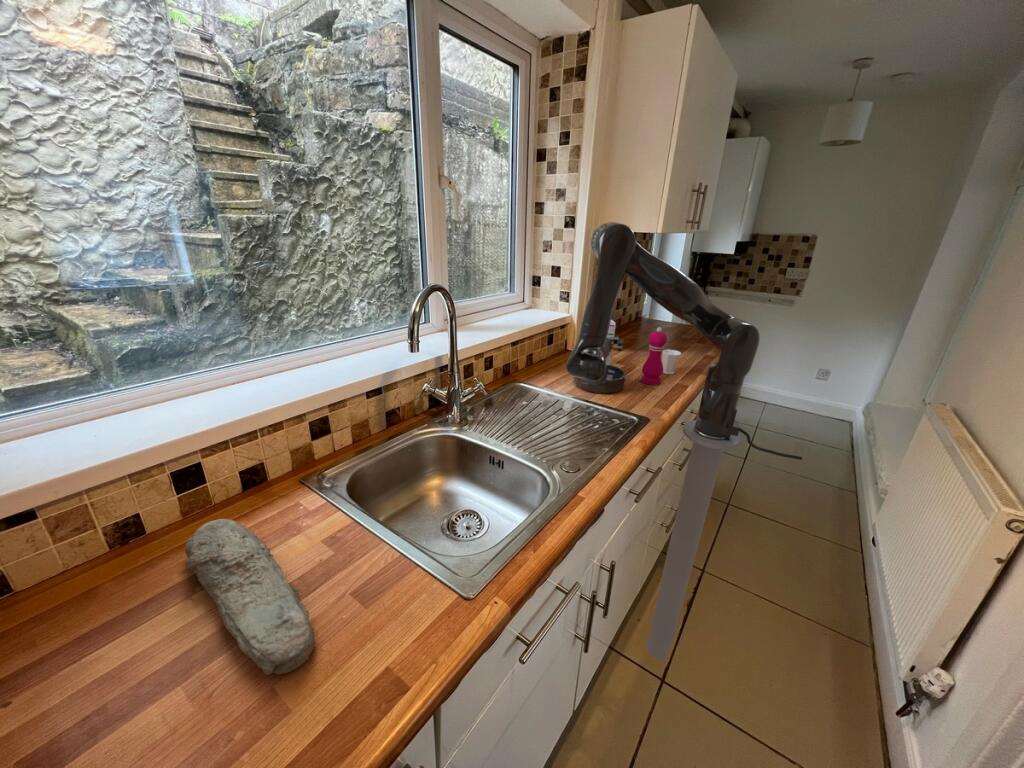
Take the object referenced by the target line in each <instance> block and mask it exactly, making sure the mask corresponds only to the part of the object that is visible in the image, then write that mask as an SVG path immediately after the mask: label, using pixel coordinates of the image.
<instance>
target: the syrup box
mask: <svg viewBox="0 0 1024 768" xmlns="http://www.w3.org/2000/svg"><path fill="white" fill-rule="evenodd" d="M616 326H617V323H615V322H614V321H613V320H611V321H610V325H609V330H608V334H607V338H609V337H612V338H614V337H615V334H616ZM613 351H614V348H613V349H611V350H610V352H609V355H608V356H607V358H606V365H612V359H613Z"/></svg>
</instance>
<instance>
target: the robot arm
mask: <svg viewBox="0 0 1024 768" xmlns="http://www.w3.org/2000/svg"><path fill="white" fill-rule="evenodd" d="M590 247H591V251H592V253H593V255H594V256H595V257H596V258H597V270H596V276H595V280H594V284H593V288H592V291H591V294H590V295H589V298H588V300H587V303H586V306H585V308H584V312H583V315H582V319H581V324H580V329H579V334H578V338H577V340H576V343H575V345H574V347H573V349H572V351H571V352H570V354H569V356H568V358H567V360H566V363H565V369H566V372H567V374H568V375H569V376H572V377H573V378H574V377H578V378H582V379H586V380H590V381H599V380H601V379H602V378H603V377H604V375H605V372H606V366H607V365H606V358H607V356H608V355H609V352H610V350H611V349H613V350H614V349H616V350H617V351H618V352H622V350H623V347H624V340H625V339H624V338H620V337H619V336H618V335H617V334H616V335H614V338H612V337H609V338H607V334H608V330H609V325H610V321H611V317H612V312H613V309H615V306H616V305H615V304H616V301H617V297H618V294H619V291H620V288H621V285H622V282H623V279H624V277H625V275H626V276H627V277H628V278H630V279H631V280H632V281H633V282H634V283H635V285H637V286H638V287H639V288H640V290H642V291H643V292H644V293H645V294H647V295H648V296H649V297H650V298H651V299H652V300H653V301H654V302H655V303H657V304H658V305H660V306H661V307H663V308H664V309H665V310H666V311H668V312H669V313H670V314H671V315H673V316H675V317H676V318H678V319H680V320H682V321H683V322H686V323H687V324H690V325H691V326H693V327H694V328H695V329H696V330H697V331H699V332H700V333H701V334H702V335H703V336H704V337H705V338H706V339H707V341H709V342H710V343H711V344H712V345H713V346H714V348H716V349H718V350H719V351H720V354H719V358H718V361H717V362H714V363H711V364H710V365H709V366H708V368H707V372H706V375H705V381H704V384H703V389H702V392H701V393H702V394H701V398H700V403H699V405H698V406H699V407H698V411H697V415H696V419H695V420H696V423H695V427H694V430H695V432H696V433H697V434H699V435H700V436H702V437H705V438H708V439H712V440H727V441H729V439H730V436H731V435H734V436H738V434H739V433H742V434H743V435H744V436H745V437H746V442H747V443H748V445H749V446H751V447H752V448H753V449H755V450H758V451H761V452H764V453H769V454H771V455H776V456H779V457H783V458H788V459H789V458H790V459H795V460H801V461H802V460H803V456H799V455H794V454H788V453H782V452H778V451H775V450H771V449H767V448H763V447H760V446H757V445H756V444H754V443H753V442H752V441H751V436H750V435H749V433H748V432H747V431H746V430H744V429H742V428H741V427H740V421H739V420H736V416H737V413H738V405H739V401H740V397H741V393H742V391H743V386H744V383H745V379H746V376H747V375H748V374H749V373H750V371H751V369H752V367H753V363H754V362H755V361H754V360H755V358H756V355H757V352H758V349H759V344H760V340H761V339H760V337H761V336H760V331H759V329H758V328H757V327H756V326H755V325H753V324H751V323H750V322H747V321H745V320H742V319H740V318H737V317H735V316H733V315H731V314H729V313H727V312H726V311H723V309H721V308H720V307H718V306H716V305H715V304H714V303H713V302H712V300H710V298H709V297H708V296H707V294H706V292H705V291H704V290H703V289H702V287H701V286H700V285H699V284H698V283H697V282H695V280H693V279H692V278H691V277H690V276H688V275H687V274H686V273H684V272H683V271H682V270H680V269H678V267H676V266H674V265H672V264H671V263H669V262H667V261H665V260H663V259H661V258H660V257H657V256H656V255H654V254H652V253H650V252H649V251H647V249H645V248H644V247H643V246H641V244H639V242H637V238H636V235H635V232H634V231H633V229H632V228H631V227H630V226H628V225H627V224H624V223H622V222H621V223H620V222H615V221H609V222H605V223H603V224H600V225H599V226H597V227H596V228H595V229H594V231H592V234H591V237H590Z"/></svg>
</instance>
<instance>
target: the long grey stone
mask: <svg viewBox="0 0 1024 768" xmlns="http://www.w3.org/2000/svg"><path fill="white" fill-rule="evenodd" d="M184 551H185V552H184V553H185V556H186V557H187V558H186V559H185V563H186V565H187V566H186V567H187V568H188V570H190V571H193V573H194V574H195V575H196V576H197V580H198V582H199V583H200V585H201V586H202V587H203V588H204V589H205V590H206V592H207V593H208V595H209V596H210V598H211V599H212V601H213V602H214V603H215V605H216V607H217V608H218V614H219V616H220V618H222V621H223V626H224V628H226V630H227V631H228V633H230V634H231V637H232V638H234V639H235V640H236V643H237V646H238V647H239V650H240V651H241V652H243V654H244V655H245V657H248V658H249V659H250V660H251V661H252V662H253V663H255V664H256V666H257V668H258V669H261V670H262V672H263V673H264V675H265V676H270V675H272V674H273V673H274V674H276V675H284V674H288V673H289V672H292V671H294V670H297V668H299V667H300V666H302V665H303V664H304V663H306V661H308V659H310V655H311V654H312V652H313V650H314V647H315V639H314V638H315V632H314V630H315V628H314V627H312V624H311V620H310V614H309V611H308V610H307V609H306V607H305V606H304V604H303V603H302V602H301V597H300V593H299V589H297V588H296V587H295V586H294V585H293V584H292V583H291V582H289V581H288V579H287V577H286V575H285V573H284V571H283V569H282V567H281V565H280V564H279V563H278V562H277V560H276V559H274V554H272V553H271V548H270V547H268V545H267V543H266V542H265V541H264V540H261V539H260V538H259V537H258V535H257V534H256V533H255V532H252V531H250V530H249V529H248V528H247V526H246V525H241V524H240V523H239V522H237V521H235V520H232V519H229V518H219V519H213V520H210V521H208V522H206V523H204V524H202V525H201V526H199V527H198V528H197V529H196V531H194V534H193V535H192V536H191V537H188V538H187V542H186V544H185V550H184Z"/></svg>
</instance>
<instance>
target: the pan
mask: <svg viewBox="0 0 1024 768" xmlns="http://www.w3.org/2000/svg"><path fill="white" fill-rule="evenodd" d="M626 378H627V373H626V371H625V370H624V369H622V368H621V367H618V366H616V365H613V364H611V365H607V366H606V372H605V375H604V377H603V378H602V379H601V380H599V381H590V380H586V379H582V378H578V377H574V376H573V383H574V384H575V385H576V386H577V387H578V388H579V389H581V390H584V391H585V392H589V393H594V394H607V395H608V394H614V393H617V392H619V391H621V390H623V389H624V387H625V386H626V385H625V384H626Z"/></svg>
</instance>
